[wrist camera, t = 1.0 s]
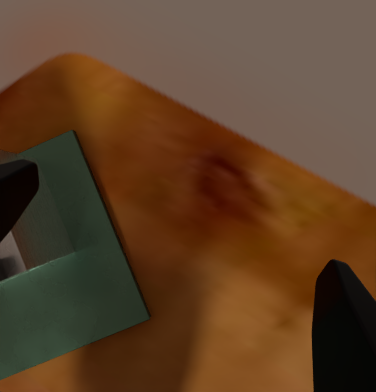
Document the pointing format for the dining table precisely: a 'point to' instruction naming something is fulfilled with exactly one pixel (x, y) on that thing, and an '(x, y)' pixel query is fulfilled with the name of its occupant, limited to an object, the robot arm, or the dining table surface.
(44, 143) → the base
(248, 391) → the dining table surface
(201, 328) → the dining table surface
